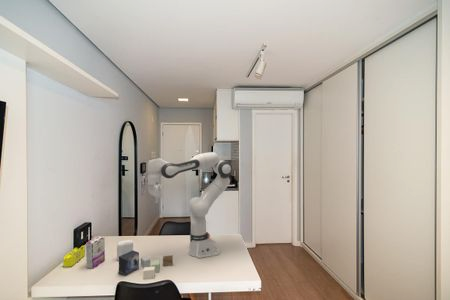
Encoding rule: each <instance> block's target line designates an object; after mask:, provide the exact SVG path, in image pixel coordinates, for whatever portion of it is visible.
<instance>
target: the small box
mask: <svg viewBox="0 0 450 300" xmlns="http://www.w3.org/2000/svg"><path fill="white" fill-rule="evenodd" d="M139 269H140V252H139V251H136V250H134V249H133V250H132V251H130V252H128V253H126V254H123V255H121V256H119V261H118V271H117V272H118V275H121V276H122V277H127V276H128V275H130V274H132V273H134V272H135V271H137V270H139Z"/></svg>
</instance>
